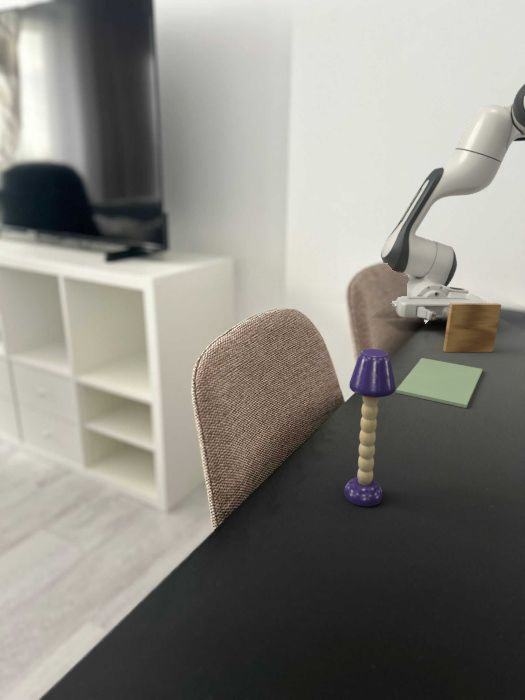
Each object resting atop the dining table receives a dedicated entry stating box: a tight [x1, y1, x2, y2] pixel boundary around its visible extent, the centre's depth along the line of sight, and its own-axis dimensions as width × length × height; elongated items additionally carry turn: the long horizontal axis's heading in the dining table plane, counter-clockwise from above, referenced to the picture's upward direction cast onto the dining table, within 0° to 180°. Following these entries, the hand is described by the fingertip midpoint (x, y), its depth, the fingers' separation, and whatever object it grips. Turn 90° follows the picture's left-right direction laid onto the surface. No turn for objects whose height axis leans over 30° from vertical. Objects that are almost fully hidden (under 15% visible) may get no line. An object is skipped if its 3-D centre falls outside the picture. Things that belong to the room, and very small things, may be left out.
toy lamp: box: [343, 348, 396, 508], centre depth 54 cm, size 5×5×17 cm
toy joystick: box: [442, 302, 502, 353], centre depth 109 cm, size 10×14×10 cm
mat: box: [395, 357, 484, 409], centre depth 89 cm, size 18×11×1 cm, turn 151°
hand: (453, 316), depth 111 cm, fingers open, 8 cm apart
